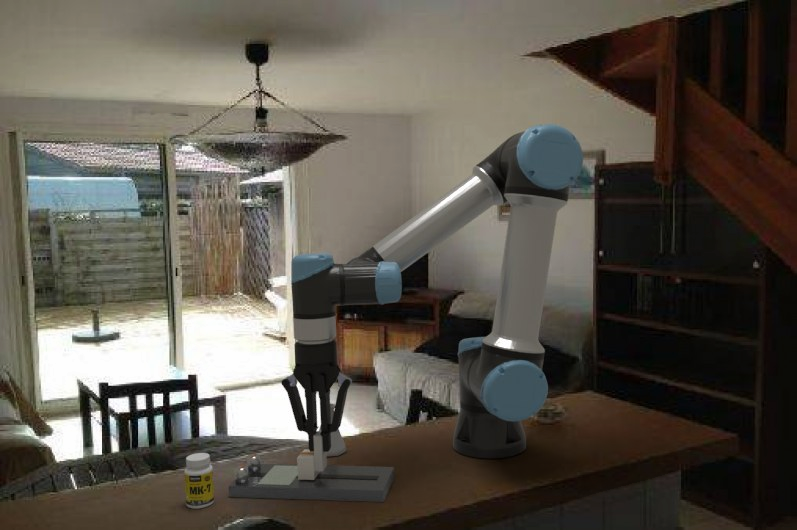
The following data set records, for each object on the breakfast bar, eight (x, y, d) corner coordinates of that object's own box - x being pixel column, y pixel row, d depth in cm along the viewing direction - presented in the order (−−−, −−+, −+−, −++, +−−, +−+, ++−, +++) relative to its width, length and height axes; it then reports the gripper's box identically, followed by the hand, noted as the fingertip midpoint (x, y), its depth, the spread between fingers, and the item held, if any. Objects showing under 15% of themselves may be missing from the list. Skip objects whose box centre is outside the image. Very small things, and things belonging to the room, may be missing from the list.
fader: (320, 470, 127) (319, 448, 127) (314, 480, 123) (313, 457, 122) (305, 470, 128) (304, 448, 127) (298, 479, 123) (296, 456, 123)
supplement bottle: (187, 511, 117) (184, 463, 116) (184, 501, 121) (181, 454, 120) (216, 505, 119) (213, 458, 118) (212, 495, 123) (209, 450, 122)
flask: (341, 458, 139) (339, 410, 139) (307, 457, 141) (305, 409, 140) (351, 446, 146) (349, 400, 146) (318, 445, 148) (316, 400, 147)
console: (394, 477, 128) (393, 453, 128) (383, 502, 117) (382, 475, 117) (252, 473, 133) (250, 450, 133) (229, 496, 122) (227, 471, 122)
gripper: (355, 336, 125) (360, 461, 127) (287, 336, 128) (292, 460, 129) (345, 343, 118) (351, 477, 120) (273, 344, 120) (279, 475, 122)
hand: (320, 468), depth 125 cm, fingers closed
